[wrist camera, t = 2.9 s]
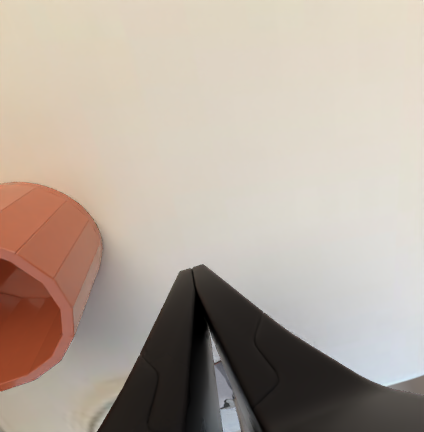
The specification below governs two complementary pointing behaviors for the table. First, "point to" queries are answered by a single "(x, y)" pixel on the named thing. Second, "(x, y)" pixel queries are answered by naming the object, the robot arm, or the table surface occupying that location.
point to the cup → (42, 277)
